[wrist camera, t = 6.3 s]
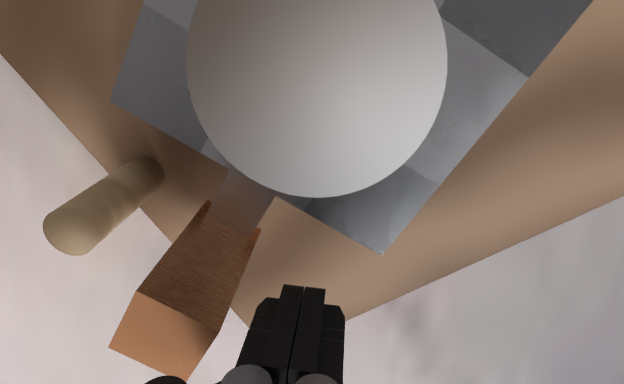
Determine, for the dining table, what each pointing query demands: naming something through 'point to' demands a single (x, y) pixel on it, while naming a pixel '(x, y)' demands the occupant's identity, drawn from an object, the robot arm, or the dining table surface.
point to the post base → (326, 133)
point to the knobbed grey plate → (330, 210)
